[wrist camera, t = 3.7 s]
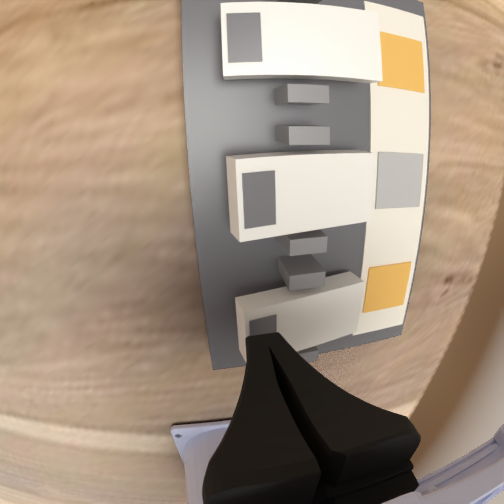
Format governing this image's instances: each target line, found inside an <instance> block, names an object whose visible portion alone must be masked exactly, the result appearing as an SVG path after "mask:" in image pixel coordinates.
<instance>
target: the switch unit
mask: <svg viewBox="0 0 504 504" xmlns="http://www.w3.org/2000/svg"><path fill="white" fill-rule="evenodd" d="M230 2H292V3H308V4H320V5H330V6H338V7H346V8H353V9H360V10H366V11H371V12H377V13H378V19H379V30H380V42H381V57H382V77H383V81H382V82H376V83H371V84H370V83H361V82H350V81H337V80H320V79H287V78H268V79H235V80H224V78H223V61H222V34H221V3H230ZM181 7H182V58H183V84H184V104H185V121H186V137H187V151H188V164H189V177H190V188H191V199H192V210H193V220H194V230H195V239H196V248H197V257H198V266H199V274H200V282H201V290H202V298H203V305H204V313H205V320H206V327H207V334H208V341H209V347H210V354H211V360H212V367H213V370H217V369H226V368H234V367H242V366H246V362H245V360H244V358H243V356H242V354H241V352H240V350H239V341H238V328H237V316H236V303H235V297H240V296H244V295H249V294H254V293H258V292H263V291H267V290H272V289H276V288H281V287H285V286H287V287H288V289H289V291H291V290H298V289H306V288H313V287H320V286H325V277H328V276H332V275H337V274H341V273H345V272H349V271H351V272H352V273H353V274H355V275H356V276H358V277H359V278H360V279H362V280H363V281H364V288H363V295H362V302H361V309H360V315H359V321H358V327H357V332H355V333H352V334H349V335H346V336H343V337H340V338H337V339H335V340H332V341H329V342H325V343H322V344H319V345H316V346H313V347H310V348H307V349H303V350H300V351H297V353H298V354H299V355H300V356H301V357H302V358H304V359H305V360H306V361H307V362H312V361H317V360H318V354H321V353H326V352H331V351H336V350H340V349H345V348H350V347H354V346H358V345H363V344H367V343H371V342H375V341H380V340H384V339H388V338H391V337H395V336H399V335H401V333H402V329H403V325H404V321H405V317H406V313H407V309H408V304H409V300H410V295H411V290H412V286H413V281H414V276H415V270H416V265H417V259H418V253H419V247H420V241H421V234H422V227H423V220H424V212H425V203H426V193H427V182H428V170H429V154H430V126H431V95H430V68H429V53H428V41H427V31H426V22H425V14H424V7H423V2H420V1H417V0H181ZM314 150H362V151H367V152H372V153H375V161H374V183H373V200H372V214H371V221H368V222H362V223H355V224H349V225H343V226H337V227H330V228H324V229H318V230H312V231H306V232H299V233H293V234H287V235H281V236H275V237H269V238H263V239H257V240H251V241H245V242H239V241H238V240H237V239H236V238H235V236H234V235H233V234H232V233H231V232H230V216H229V200H228V183H227V166H226V156H233V155H244V154H257V153H272V152H290V151H314Z"/></svg>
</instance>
